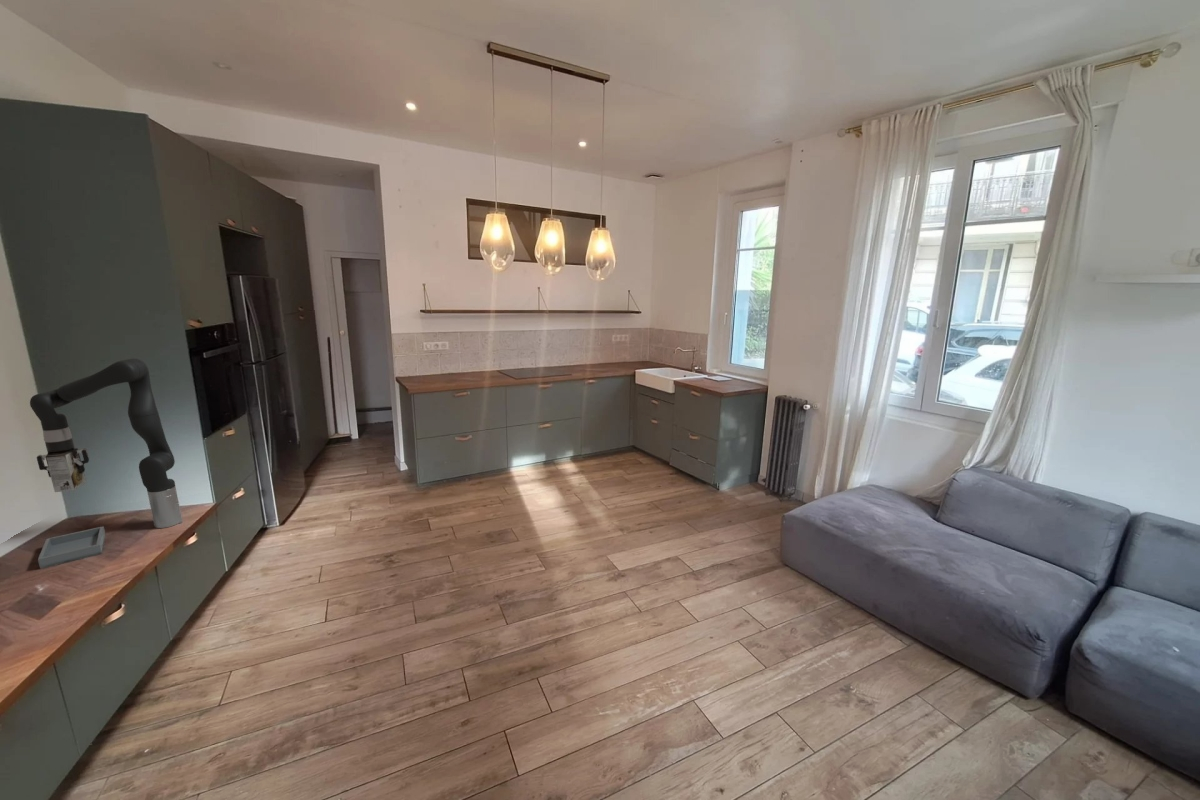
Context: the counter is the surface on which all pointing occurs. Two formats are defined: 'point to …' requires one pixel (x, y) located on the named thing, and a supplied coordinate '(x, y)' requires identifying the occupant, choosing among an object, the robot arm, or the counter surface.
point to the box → (72, 547)
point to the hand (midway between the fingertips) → (67, 475)
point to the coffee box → (65, 471)
